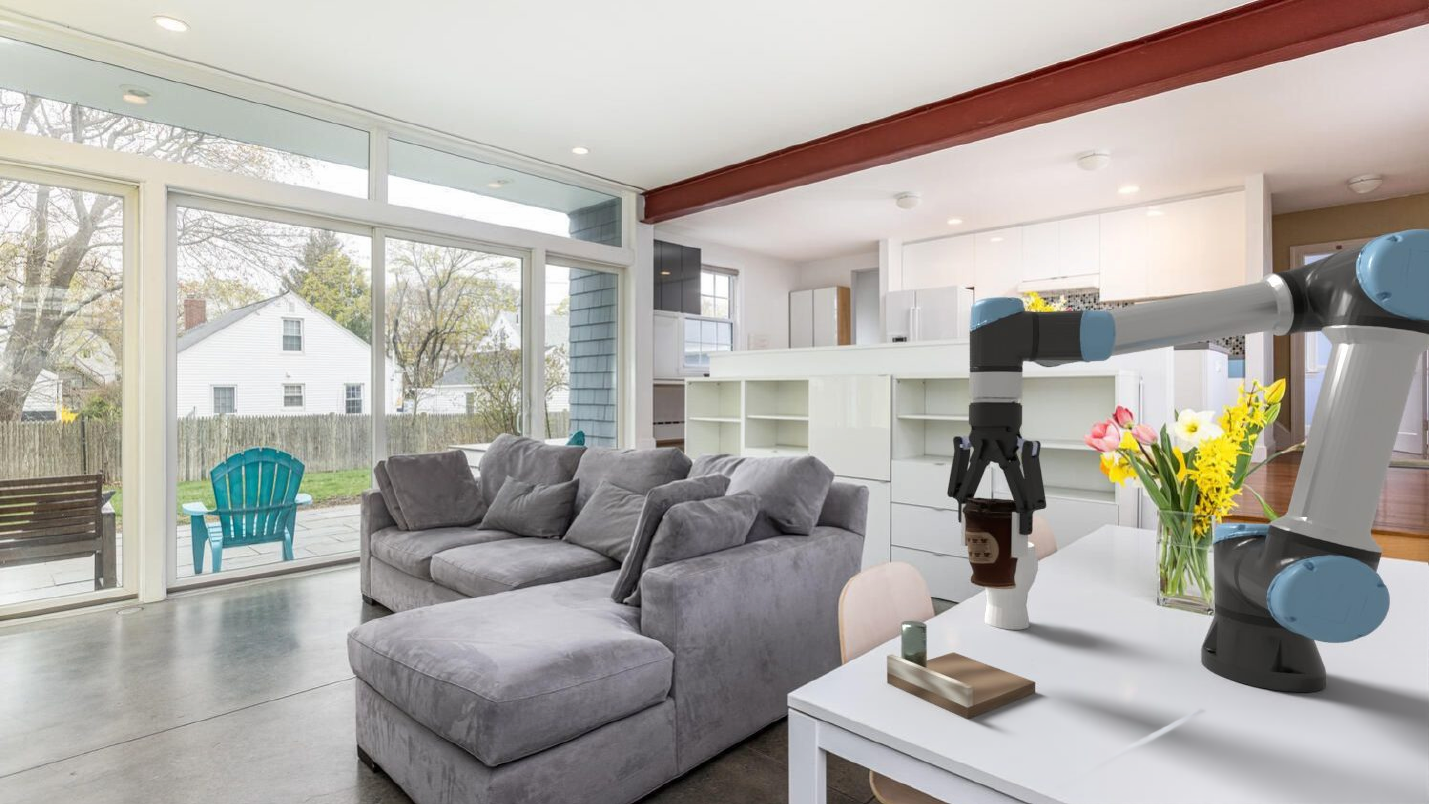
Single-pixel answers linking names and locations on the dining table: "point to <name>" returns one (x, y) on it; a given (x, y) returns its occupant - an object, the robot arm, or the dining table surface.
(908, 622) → the green cylinder
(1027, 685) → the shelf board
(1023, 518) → the robot arm
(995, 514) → the coffee cup
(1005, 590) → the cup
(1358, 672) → the dining table surface
